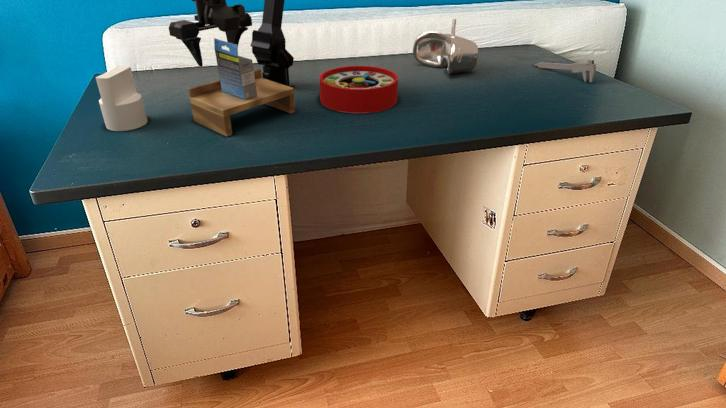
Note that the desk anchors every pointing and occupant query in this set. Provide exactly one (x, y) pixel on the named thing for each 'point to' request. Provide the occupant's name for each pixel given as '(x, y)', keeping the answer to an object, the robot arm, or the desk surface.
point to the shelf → (236, 102)
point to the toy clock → (358, 89)
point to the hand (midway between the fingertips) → (217, 62)
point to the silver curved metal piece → (446, 51)
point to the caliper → (574, 68)
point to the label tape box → (234, 71)
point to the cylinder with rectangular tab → (120, 100)
